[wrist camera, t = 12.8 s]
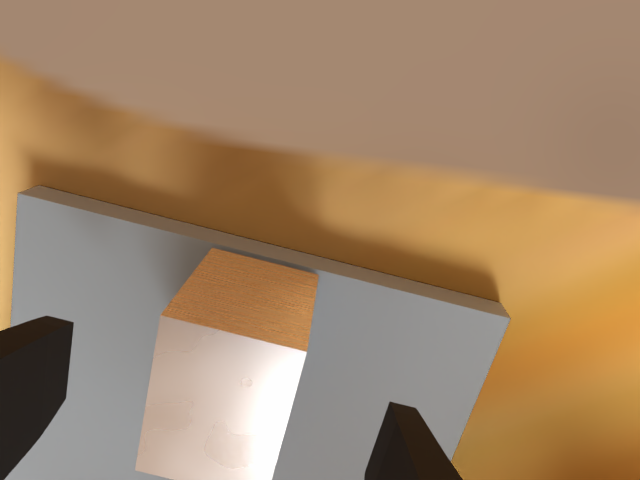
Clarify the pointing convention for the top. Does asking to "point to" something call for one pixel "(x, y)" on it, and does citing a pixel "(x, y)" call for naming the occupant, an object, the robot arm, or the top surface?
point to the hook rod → (226, 370)
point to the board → (320, 362)
